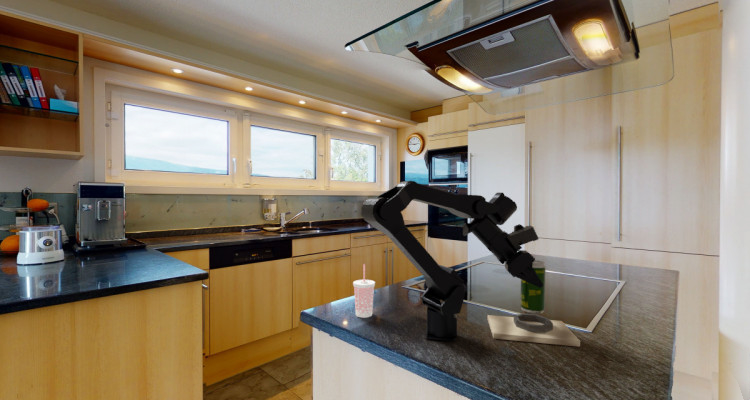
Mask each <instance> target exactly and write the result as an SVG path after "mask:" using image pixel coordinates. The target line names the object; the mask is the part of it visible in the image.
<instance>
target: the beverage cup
mask: <svg viewBox="0 0 750 400" xmlns="http://www.w3.org/2000/svg"><path fill="white" fill-rule="evenodd" d="M362 266H363V267H362V268H363V269H362V270H363V271H362V272H363V278H362V279H357V280H354V281H353V282H352V285H353V289H354V290H353V291H354V307H355V316H356V317H358V318H364V319H365V318H370V317H372V316H373V306H374V294H375V293H374V292H375V286H376V281H374V280H372V279H366V263H363V265H362Z"/></svg>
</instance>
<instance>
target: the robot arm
mask: <svg viewBox="0 0 750 400" xmlns="http://www.w3.org/2000/svg"><path fill="white" fill-rule="evenodd" d="M412 201H414V202H419V203H422V204H426V205H431V206H434V207H439V208H441V209H445V210H447V211H449V213H450V214H452V215H455V216H457V217H458V218H460V219H461V218H462V219H470V220H471V219H472V220H471V221H469V222H466V223H463V225H462V236H464V237H465V236H467V235H469V234H471V233H472V234H473V235H474V236H475V237H476V238H477V240H479V241H480V242H481V243H482V244H483V245H484V247H486V249H487V250H488V251H489V252H491V254H492V255H493V256H494V257H495V259H497V260H498V261H499V262H500V263H501V265H504V269H505V270H506V271H507V272H508V274H510V276H512V277H513V278H517V279H520V280H521V279H522V280H524V281H526V282H528V283H530V284H533V285H535V286H537V287H539V288H541V287H543V286H544V285H543V283H542V281H541V280H540V278H539V277H538V275H537V274H536V272H535V271H534V269H533V268H532V264H533V262H534V260H536V258H535V257H534V256H533V255H532V254H531V253H530V252H528V251H527V250H524V249H523V245H525V244H528V243H530V242H535V241H538V240H539V239H540V238H539V236H538V234H537V232H536V230H535V228H534V226H531V225H526V226H524V225H522V224H516V225H514V226H513V231H511V232H510V233H508V232H506V231H505V230H502V228H501V227H499V226H502V225H504V224H505V223H506V222H507V221H508V220H510V217H512V215H513V214H514V213H516V212H517V210H518V206H517V203H516V202H515V200H514V201H513V199H511V197H509V196H507V195H505V194H504V192H495V194H493V197H492V198H490V200H489V201H487V200H486V197H484V196H482V195H479V194H458V193H453V192H450V191H446V190H442V189H439V188H435V187H433V186H428V185H425V184H421V183H418V182H417V181H415V180H404V181H401V182H399V183H398V184H396V185H395V186H393V187H392V188H390V189H388V190H387V191H384V192H383V193H381V194H379V195H378V196H376V197H370V198H367V199H366V200H364V202H363V204H362V205H361V213H360V214H361V217H362V218H363V220H364V221H365V222H366V223H368V224H369V225H370V226H372V227H373V228H374V229H376V230H378V231H379V232H381V233H382V234H384V235H385V236H387V238H389V239H390V241H392V242H393V243H394V245H395V246H396V247H397V248H398V249H399V250H400V251H401V252H402V254H403V255H404V256H405V257H406V258H407V259H408V260H409V262H411V264H412V265H413V266H414V267H415V269H416V270H418V271H419V272H420V274H421V275H422V276H423V278H424V282H425V285H426V287H427V288H426V290H425V291H424V292H423V293H422V295H421V296H420V300H421V304H422V305H423V306H425V307H427V308H426V333H425V339H427V340H435V341H445V342H446V341H447V342H455V341H456V339H455V338H456V336H458V335H457V334H458V315H457V314H461V311H462V307H463V304H464V299H465V296H466V290H467V288H466V286H465V284H464V282H465V280H464V279H463V278H461V277H460V275H459V274H458V272H457V270H455V269H454V268H451V267H447V266H444V265H441V264H439V263H438V262H437V261H436V259H434V258H433V256H432V255H431V254H430V253H429V252H428V250H427V249H426V248H425V247H424V246H423V245H422V243H421V242H420V241H419V240H418V239H417V237H416V236H414V234H413V233H412V231H410V229H409V228H408V227H407V226H406V223H405V219H404V216H403V214H402V212H403V211H405V210H406V208H408V206H409V205H410V203H412ZM521 249H522V250H521Z"/></svg>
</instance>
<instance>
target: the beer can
mask: <svg viewBox="0 0 750 400" xmlns="http://www.w3.org/2000/svg"><path fill="white" fill-rule="evenodd" d="M532 268H533V269H534V271H535V272H536V274H537V275H538V277H539V278H540V280H541V281H542V283H543V285H544V286H543V287H541V288H539V287H537V286H535V285H533V284H530V283H528V282H526V281H524V280H522V279H520V300H519V301H520V303H519V304H520V308H521V311H523V312H524V313H527V314H536V315H540V314H543V313H544V311H545V310H546V309H545V305H546V304H545V303H546V302H545V301H546V266H545V262H544V261H541V260H537V259H535V260H534V262H533V264H532Z"/></svg>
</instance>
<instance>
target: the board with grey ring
mask: <svg viewBox="0 0 750 400" xmlns="http://www.w3.org/2000/svg"><path fill="white" fill-rule="evenodd" d="M487 322H488V326H489V328H490V331H491V335H492V338H493V339H495V340H505V341H507V340H508V341H517V342H518V341H519V342H529V343H537V344H538V343H540V344H548V345H549V344H550V345H559V346H560V345H561V346H572V347H581V340H580V339H579V338H578V337H577V336H576V335H575V334H574V332H572V331H571V329H570V328H569V327H568V326H566V324H565V323H564V322H563V321H562V320H555V319H554V320H552V319H550V318H548V317H545V316H542V315H540V314H533V313H526V312H524V313H523V312H521V313H518V314H515V315H513V316H504V315H493V314H492V315H491V314H490V315H489V314H487Z"/></svg>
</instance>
